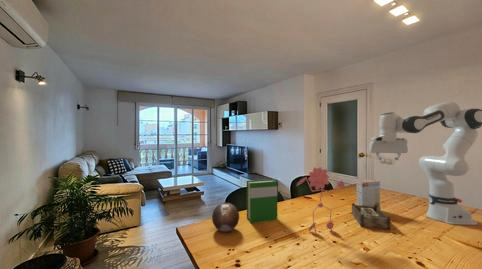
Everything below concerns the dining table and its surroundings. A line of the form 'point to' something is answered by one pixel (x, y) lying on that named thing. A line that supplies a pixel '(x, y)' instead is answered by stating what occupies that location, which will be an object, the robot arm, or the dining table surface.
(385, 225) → the walnut crate
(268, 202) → the hardback book
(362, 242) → the dining table surface
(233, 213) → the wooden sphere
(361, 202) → the cracker box
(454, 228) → the dining table surface
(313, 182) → the figurine
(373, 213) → the birch crate
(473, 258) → the dining table surface
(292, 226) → the dining table surface
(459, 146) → the robot arm
